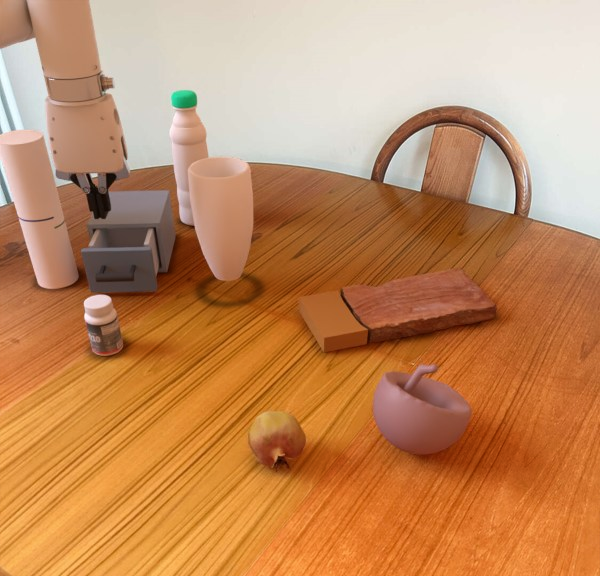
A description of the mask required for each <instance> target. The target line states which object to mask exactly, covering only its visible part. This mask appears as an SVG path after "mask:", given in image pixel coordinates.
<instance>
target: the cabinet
mask: <svg viewBox="0 0 600 576" xmlns="http://www.w3.org/2000/svg"><path fill="white" fill-rule="evenodd" d="M108 192H109V197H110V203H111V211H109V212H108V214H107V217H106V219H102V218H99V219H94V214H93V212H91V215H90V217H89V219H88V221H87V223H86V229H87V233H88V236H89V241H91V239H92V237H93V235H94V233H95V231H96V229H100V228H146V227H156V232H157V239H158V245H159V251H160V258H161V261H160V264H159V268H158V272H157V273H167V272H168V269H169V265H170V261H171V258H172V253H173V249H174V245H175V242H176V237H177V236H176V230H175V221H174V215H173V214H174V213H173V206H172V200H171V193H170V190H169V189H166V190H164V189H163V190H162V189H161V190H115V191H113V190H111V191H108Z"/></svg>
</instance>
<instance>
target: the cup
mask: <svg viewBox="0 0 600 576" xmlns="http://www.w3.org/2000/svg"><path fill="white" fill-rule="evenodd" d="M188 178H189V191H190V201H191V207H192V213H193V219H194V225H195V226H194V231H195V234H196V236H197V239H198V242H199V246H200V249H201V252H202V254H203V256H204V259H205V261H206V263H207V265H208V267H209V269H210V271H211V272H212V274H213V275H214V277H215V278H216V280H219V281H222V282H230V281H231V282H232V281H236V280H238V279H239V278H241V277H242V275H243V271H244V269H245V267H246V264H247V260H248V257H249V253H250V249H251V243H252V237H253V231H254V192H253V180H252V171H251V166H250V164H249V162H248V161H246V160H243V159H242V158H238V157H234V156H211V157H209V158H205V159H201V160H198V161H196V162H194V163H192V164H191V166H190V167H189V168H188Z"/></svg>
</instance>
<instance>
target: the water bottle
mask: <svg viewBox="0 0 600 576" xmlns="http://www.w3.org/2000/svg"><path fill="white" fill-rule="evenodd" d="M170 102H171V106H172V109H173V110H174V116H173V118H172V123H171V126H170V128H169V139H170V141H171V157H172V165H173V172H174V173H173V174H174V178H175V183H176V196H177V197H176V198H177V201H178V212H179V219H180V221H181V222H182V224H185V225H187V226H189V227H190V226H191V227H192V226H193V227H195V225H194V219H193V213H192V207H191V201H190V191H189V178H188V168H189V167H190V166H191V164H192V163H194V162H196V161H198V160H201V159H205V158H210V157H209V149H208V143H207V129H206V127H205V126H204V124H203V122H202V121H201V118H200V115H198V113H197V111H196V110H197V108H198V97H197V93H196V92H195V91H193V90H189V89H181V90H176V91H173V92H172V93H171V95H170Z"/></svg>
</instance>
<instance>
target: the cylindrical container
mask: <svg viewBox="0 0 600 576" xmlns="http://www.w3.org/2000/svg"><path fill="white" fill-rule="evenodd" d="M48 151H49V150H48V147H47V144H46V139H45V135H44V133H43V132H42V131H40V130H36V129H28V128H27V129H16V130H9V131H7V132H6V131H5V132H3V133H0V161H1V164H2V167H3V170H4V174H5V178H6V181H7V184H8V185H7V186H8V188H9V191H10V194H11V198H12V201H13V205H14V207H15V211H16V214H17V218H18V222H19V225H20V228H21V231H22V235H23V238H24V241H25V245H26V248H27V251H28V255H29V258H30V262H31V264H32V269H33V272H34V275H35V278H36V282H37V285H38V286H40V287H41V288H44V289H49V290H57V289H62V288H63V289H64V288H66V287H69V286H71V285H73V284H75V283H76V282H77V281H78V279H79V277H80V276H79V271H78V268H77V262H76V260H75V256H74V251H73V247H72V243H71V239H70V235H69V231H68V228H67V224H66V219H65V216H64V215H65V214H64V212H63V207H62V203H61V200H60V195H59V191H58V188H57V184H56V180H55V177H54V172H53V168H52V164H51V161H50V160H51V159H50V156H49V152H48Z"/></svg>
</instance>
